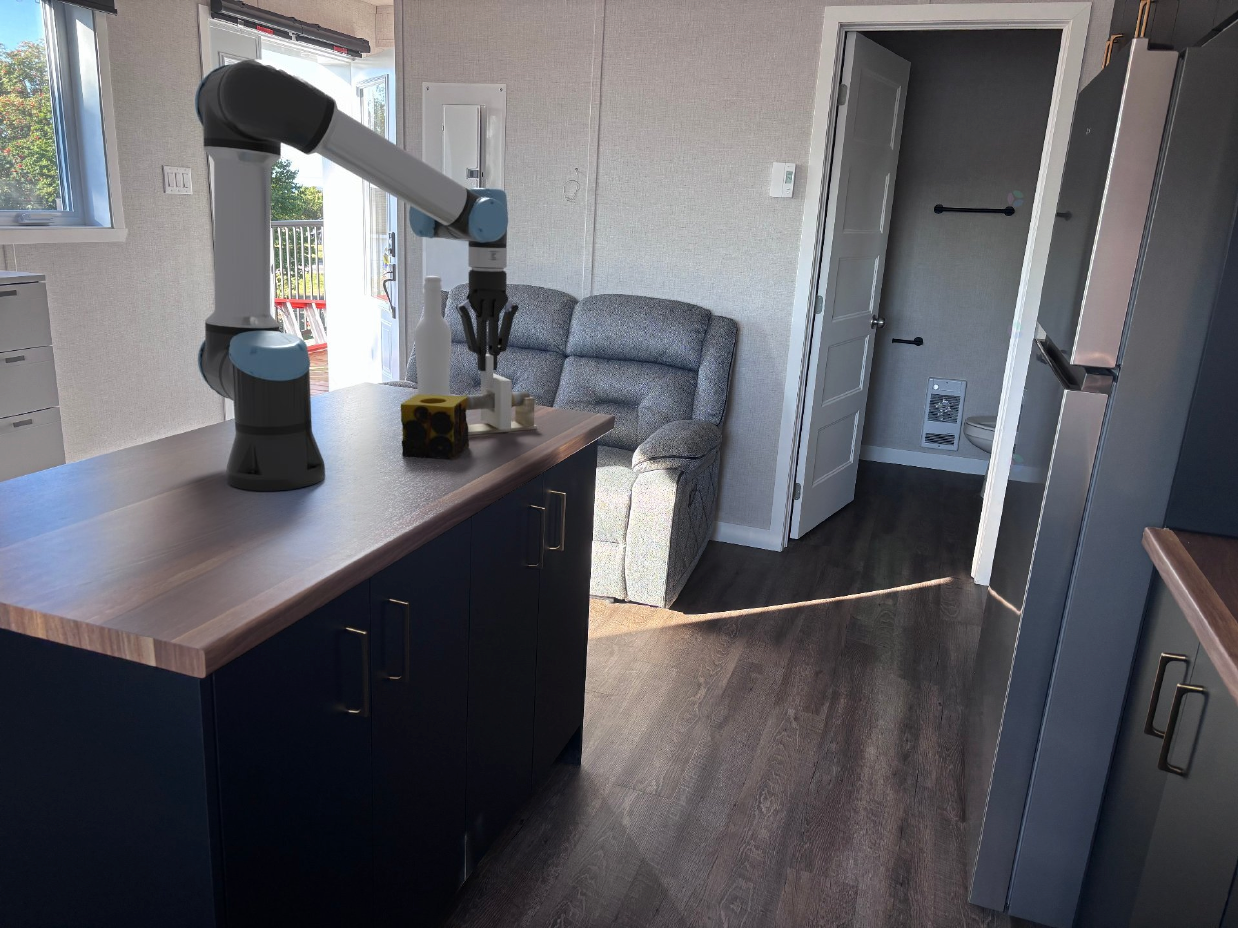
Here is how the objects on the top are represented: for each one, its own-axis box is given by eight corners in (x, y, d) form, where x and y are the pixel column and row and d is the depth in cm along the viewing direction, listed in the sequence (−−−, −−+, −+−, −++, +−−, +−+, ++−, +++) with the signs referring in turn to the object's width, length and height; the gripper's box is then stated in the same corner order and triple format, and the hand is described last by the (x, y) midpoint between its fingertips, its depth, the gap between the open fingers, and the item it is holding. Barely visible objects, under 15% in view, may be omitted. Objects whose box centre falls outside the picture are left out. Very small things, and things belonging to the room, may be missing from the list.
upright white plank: (500, 429, 187) (500, 381, 184) (480, 419, 195) (481, 373, 192) (511, 428, 188) (511, 380, 185) (491, 418, 196) (491, 372, 194)
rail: (451, 436, 184) (451, 398, 182) (441, 430, 189) (440, 393, 187) (537, 428, 194) (537, 392, 191) (524, 422, 198) (525, 387, 196)
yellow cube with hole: (469, 447, 176) (469, 396, 174) (455, 460, 167) (455, 406, 164) (417, 443, 177) (417, 393, 175) (400, 456, 168) (399, 403, 165)
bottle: (413, 410, 206) (411, 274, 198) (449, 409, 208) (449, 275, 200) (417, 418, 198) (414, 277, 190) (454, 417, 201) (454, 277, 193)
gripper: (464, 270, 176) (464, 391, 182) (525, 270, 182) (524, 387, 189) (449, 267, 182) (450, 385, 188) (509, 268, 189) (508, 381, 195)
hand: (487, 386), depth 188 cm, fingers closed
